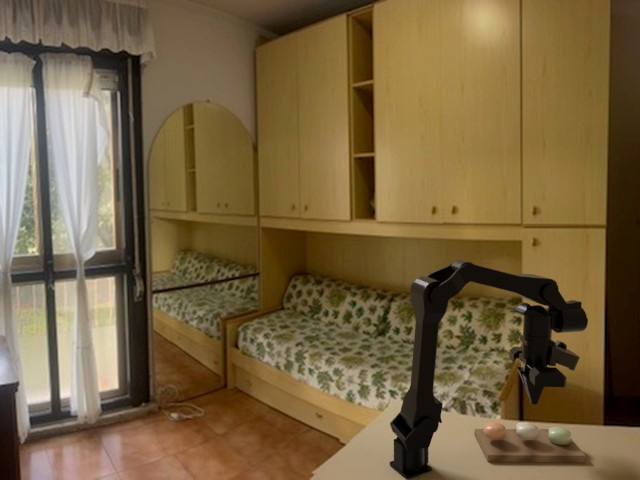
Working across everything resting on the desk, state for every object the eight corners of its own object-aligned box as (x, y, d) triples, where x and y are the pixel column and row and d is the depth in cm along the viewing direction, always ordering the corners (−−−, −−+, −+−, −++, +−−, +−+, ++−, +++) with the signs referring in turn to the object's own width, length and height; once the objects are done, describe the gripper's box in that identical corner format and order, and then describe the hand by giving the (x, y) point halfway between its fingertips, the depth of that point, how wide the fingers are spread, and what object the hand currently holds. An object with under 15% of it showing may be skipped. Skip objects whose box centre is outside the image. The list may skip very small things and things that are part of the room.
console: (487, 461, 112) (487, 454, 112) (474, 435, 124) (474, 428, 124) (585, 462, 111) (585, 454, 111) (562, 435, 123) (562, 428, 122)
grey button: (519, 440, 115) (520, 431, 115) (513, 430, 119) (513, 422, 119) (540, 440, 115) (540, 431, 114) (533, 430, 119) (533, 422, 119)
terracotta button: (487, 440, 115) (487, 431, 115) (482, 430, 120) (482, 422, 119) (507, 440, 115) (507, 431, 115) (501, 430, 119) (502, 422, 119)
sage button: (552, 444, 115) (553, 436, 114) (545, 435, 119) (545, 426, 119) (573, 444, 114) (574, 436, 114) (565, 435, 119) (565, 426, 118)
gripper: (595, 347, 105) (590, 423, 106) (558, 323, 123) (555, 388, 125) (537, 346, 105) (533, 421, 107) (509, 322, 124) (507, 387, 125)
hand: (533, 403), depth 116 cm, fingers closed
